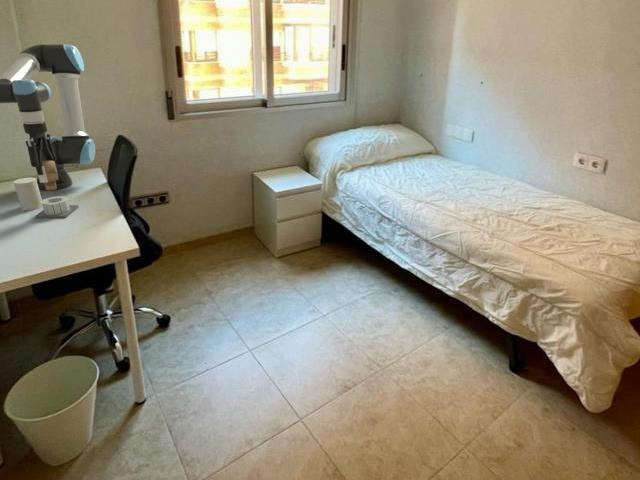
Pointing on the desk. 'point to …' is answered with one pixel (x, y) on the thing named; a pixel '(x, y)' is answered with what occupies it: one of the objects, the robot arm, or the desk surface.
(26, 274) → the desk surface
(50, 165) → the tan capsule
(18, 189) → the cup
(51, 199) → the socket
